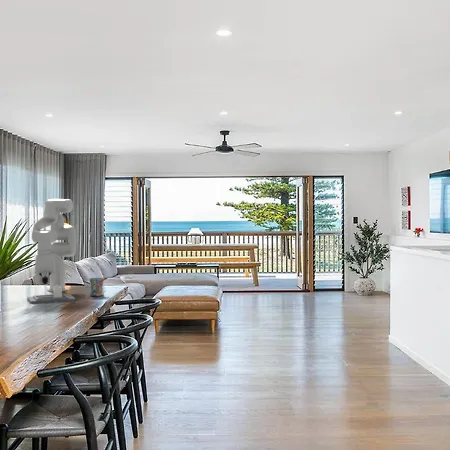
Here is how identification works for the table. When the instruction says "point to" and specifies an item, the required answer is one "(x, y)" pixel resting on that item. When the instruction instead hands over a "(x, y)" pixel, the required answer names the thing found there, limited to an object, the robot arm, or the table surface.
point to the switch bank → (49, 299)
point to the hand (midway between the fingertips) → (45, 283)
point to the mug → (96, 286)
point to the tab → (57, 291)
